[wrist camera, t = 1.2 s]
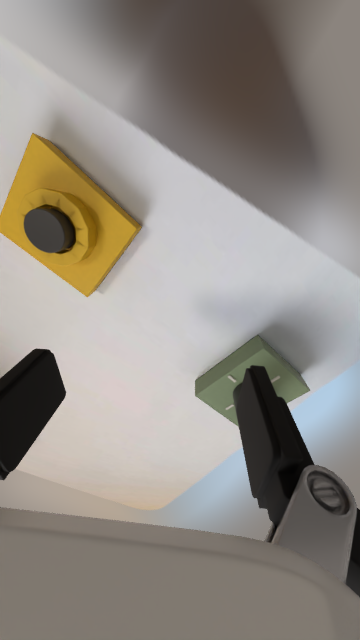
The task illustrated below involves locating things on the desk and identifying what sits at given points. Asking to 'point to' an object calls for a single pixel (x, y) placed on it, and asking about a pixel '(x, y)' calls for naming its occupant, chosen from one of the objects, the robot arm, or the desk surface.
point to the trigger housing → (77, 205)
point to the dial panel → (230, 374)
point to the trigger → (48, 229)
